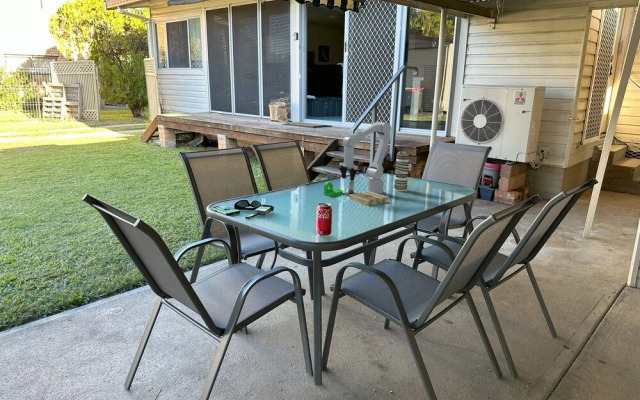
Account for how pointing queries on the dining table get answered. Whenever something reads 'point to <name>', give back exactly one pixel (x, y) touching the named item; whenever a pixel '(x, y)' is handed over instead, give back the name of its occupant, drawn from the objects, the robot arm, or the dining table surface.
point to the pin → (351, 187)
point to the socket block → (368, 198)
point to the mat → (347, 194)
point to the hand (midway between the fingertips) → (348, 179)
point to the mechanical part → (331, 190)
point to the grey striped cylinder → (401, 171)
